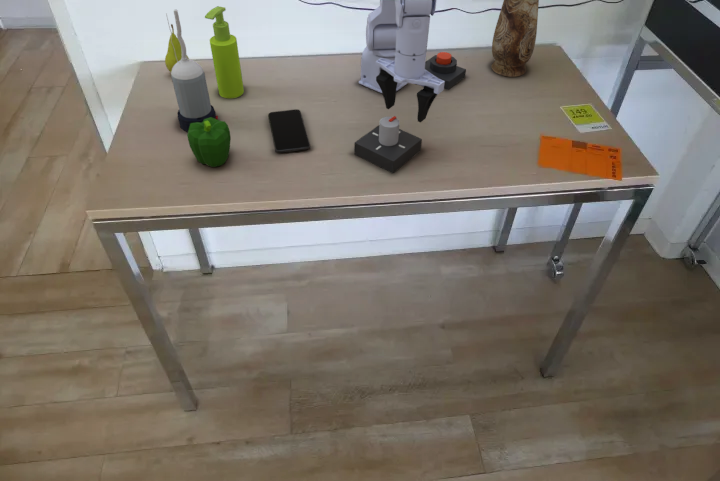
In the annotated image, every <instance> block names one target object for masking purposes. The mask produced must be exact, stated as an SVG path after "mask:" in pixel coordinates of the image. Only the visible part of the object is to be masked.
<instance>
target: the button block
mask: <svg viewBox="0 0 720 481" xmlns="http://www.w3.org/2000/svg"><path fill="white" fill-rule="evenodd" d="M436 59H437V54H434V55H432V56H431V57H430V58H429V59H428V60H427V59H426V61H425V70H427V71H428V72H430V73H431V74H433V75H434V76H436V77H437V78H439V79H441V80H443V81H445V83H444V90H449V89H451V88H453V87H454V86H455V85H457V84H458V83H459V82H461V81H462V80H463V79H464V78H466V75H467V74H466V73H467V69H466V68H463V67H462V66H458V60H457V59H456V57H454V56H452V58H451V63H450V64H448V65H442V64H438V63H437V62H436Z"/></svg>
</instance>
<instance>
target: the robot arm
mask: <svg viewBox="0 0 720 481" xmlns="http://www.w3.org/2000/svg"><path fill="white" fill-rule="evenodd" d="M436 7H437V0H379V6H378V7H377V8H375V9H374V10H372V11H370V12H369V13H368V15H367V17H366V26H365V44H366V46H365V47H364V49H363V51H362V53H361V56H360V80H358V84H359V85H361V86H364V87H366V88H368V89H371V90H373V91H375V92H378V93H380V94H382V96H383V99H384V105H385V108H386V109H387V110H390V109H391V108H393V107H394V106H395V104H396V98H397V91H399V90H400V89H402V88H403V87H405V86H407V85H408V84H413V85H418V86H420V87H422V89H420V90H419V91H418V92H416V99H417V122H419V123H422V122H423V121H424V120H426V119H427V117H428V113H429V110H430V108H431V106H432V104H433V102H434V101H435V99H436V98H437V96H438V95H439V94H441V93H443V91H444V90H445V88H444V83H445V81H443V80H441V79H439V78H437V77H436V76H434V75H433V74H431V73H430V72H428V71H427V70H425V62H426V61H427V51H428V43H429V32H430V23H431V16H432V17H433V16H434V15H435V13H436Z"/></svg>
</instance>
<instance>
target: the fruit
mask: <svg viewBox="0 0 720 481" xmlns="http://www.w3.org/2000/svg"><path fill="white" fill-rule="evenodd" d="M170 28H171V32H172V43H171V35H170V36H169V40H168V46H167V52H166V55H165V58H164V63H165V67H166V69H167V71H168V72H170V73H171V71H172V68H173V66H174V65H175V64H176V63H177V62H178V61H180V60H181V58H182V49H181V45H180V42H179V40H178V38H177V34H175V32H174V30H175V29H174V24H173V23H170ZM172 44H173V45H172ZM173 46H174V48H173ZM174 49H175V51H174ZM175 53H176V56H175ZM176 57H177V59H176ZM186 57H187V58H188V59H190V58H189V56H188V54H186ZM177 60H178V61H177Z"/></svg>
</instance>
